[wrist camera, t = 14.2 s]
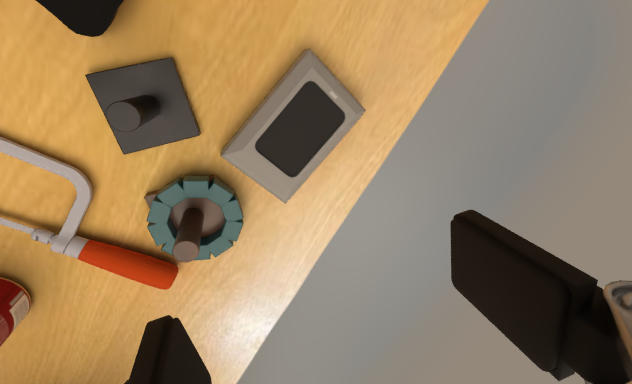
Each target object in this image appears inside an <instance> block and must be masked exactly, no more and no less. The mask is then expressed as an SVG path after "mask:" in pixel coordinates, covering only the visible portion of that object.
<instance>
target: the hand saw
mask: <svg viewBox="0 0 632 384" xmlns="http://www.w3.org/2000/svg"><path fill="white" fill-rule="evenodd" d="M0 152H2V153H5V154H7V155H10V156H12V157H15V158H17V159H20V160H22V161H25V162H27V163H30V164H32V165H35V166H37V167H40V168H42V169H45V170H47V171H50V172H52V173H55V174H57V175H60V176H62V177H64V178H66V179H68V180H70V181H71V182H72V183H73V184H74V186H75V188H76V190H77V198H76V200H75V202H74V204H73V206H72V208H71V210H70V213H69V215H68V217H67V219H66V221H65V223H64V225H63V228H62V230H61V231H60V233H59V235H55V233H54V232H51V231H47V230H44V229H41V228H38V229H34V228H31V227H28V226H25V225H22V224H19V223H16V222H13V221H10V220H7V219H3V218H0V224H1V225H4V226H7V227H10V228H14V229H17V230H20V231H23V232H26V233H29V234H31V239H33V240H35V241H38V240H39V242H42V243H45V244H49V243H51V244H52V245H51V248H50V249H51V251H54V252H57V253H60V254H65V255H67V256H70V257H74V258H77V259H79V260H81V261H84V262H86V263H89V264H91V265H94V266H96V267H99V268H102V269H104V270H107V271H110V272H112V273H115V274H118V275H121V276H123V277H126V278H129V279H132V280H135V281H137V282H140V283H143V284H146V285H150V286H153V287H156V288H159V289H169V288H170V287H171V286H172V284H173V282H174V280H175V278H176V276H177V273H178V267H177V266H176V265H174V264H172V263H169V262H166V261H163V260H160V259H156V258H153V257H150V256H147V255H144V254H141V253H137V252H134V251H130V250H127V249H123V248H120V247H116V246H113V245H109V244H105V243H101V242H97V241H93V240H90V239H86V238H83V237H80V236H76V235H75V234H76V232H77V230H78V227H79V225H80V223H81V221H82V219H83V217H84V215H85V213H86V211H87V209H88V207H89V204H90V202H91V200H92V196H93V191H92V187H91V184H90V182H89V180H88V179H87V177H86V176H85V175H84V174H83V173H82V172H81V171H79V170H78V169H76V168H75V167H73V166H71V165H68V164H66V163H63V162H61V161H58V160H56V159H54V158H51V157H49V156H46V155H44V154H42V153H39V152H37V151H34V150H32V149H29V148H27V147H25V146H22V145H20V144H17V143H15V142H13V141H10V140H8V139H5V138H3V137H0Z"/></svg>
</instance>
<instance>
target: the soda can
mask: <svg viewBox="0 0 632 384" xmlns="http://www.w3.org/2000/svg"><path fill="white" fill-rule="evenodd" d="M30 307H31V298H30V296H29V294H28V292H27V291H26V290H25V289H24V288H23V287H22V286H21V285H19V284H18V283H16V282H14V281H12V280H9V279H6V278H1V277H0V346H1V345H2V344H3V343H4V342H5V340H6V339H7V338H8V337H9V335H10V334H11V333H12V332H13V331H14V329H15V328H16V327H17V326H18V325H19V323H20V322H21V321H22V320H23V318H24V317H25V316H26V315H27V313H28V312H29V310H30Z"/></svg>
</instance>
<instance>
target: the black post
mask: <svg viewBox="0 0 632 384" xmlns="http://www.w3.org/2000/svg"><path fill="white" fill-rule="evenodd" d="M85 76H86V78H87V80H88V82H89V84H90V86H91V88H92V90H93V92H94V94H95V96H96V99H97V101H98V103H99V105H100V107H101V109H102V111H103V113H104V115H105V117H106V119H107V121H108V123H109V125H110V127H111V129H112V131H113V134H114V136H115V138H116V140H117V142H118V144H119V146H120V148H121V150H122V152H123V154H128V153H132V152H136V151H140V150H144V149H148V148H152V147H156V146H160V145H164V144H168V143H172V142H176V141H180V140H184V139H188V138H192V137H195V136H199V135H200V134H201V133H200V130H199V127H198V124H197V122H196V119H195V116H194V113H193V111H192V108H191V105H190V102H189V100H188V97H187V94H186V91H185V89H184V86H183V83H182V80H181V78H180V75H179V72H178V69H177V67H176V64H175V61H174V58H172V57H170V58H165V59H160V60H155V61H150V62H146V63H141V64H136V65H131V66H126V67H121V68H116V69H111V70H106V71H101V72H96V73H91V74H87V75H85Z"/></svg>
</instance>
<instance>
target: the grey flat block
mask: <svg viewBox="0 0 632 384" xmlns="http://www.w3.org/2000/svg"><path fill="white" fill-rule="evenodd" d="M365 111H366V110H365V109H364V107H363V106H362V105H361V104H360V103H359V102H358V101H357V100H356V99H355V98H354V97H353V96H352V94H351V93H350V92H349V91H348V90H347V89H346V88H345V87H344V86H343V85H342V84H341V82H340V81H339V80H338V79H337V78H336V77H335V76H334V75H333V74H332V73H331V72H330V70H329V69H328V68H327V67H326V66H325V65H324V64H323V63H322V62H321V61H320V60H319V58H318V57H317V56H316V55H315V54H314V53H313V52H312V51H311V50H310V49H306V50H304V51H303V53H302V54H301V55H300V56H299V57H298V59H297V60H296V61H295V62H294V64H293V65H292V66H291V67H290V68H289V70H288V71H287V72H286V73H285V74H284V76H283V77H282V78H281V79H280V80H279V82H278V83H277V84H276V85H275V86H274V88H273V89H272V90H271V91H270V92H269V94H268V95H267V96H266V97H265V98H264V100H263V101H262V102H261V103H260V105H259V106H258V107H257V108H256V109H255V111H254V112H253V113H252V114H251V115H250V117H249V118H248V119H247V120H246V121H245V123H244V124H243V125H242V126H241V127H240V129H239V130H238V131H237V132H236V133H235V135H234V136H233V137H232V138H231V139H230V141H229V142H228V143H227V144H226V146H225V147H224V148H223V149H222V150H221V157H223V158H224V159H225V160H227V161H228V162H230V163H231V164H232V165H234V166H235V167H236V168H238V169H239V170H240V171H242V172H243V173H244V174H246V175H247V176H249V177H250V178H251V179H253V180H254V181H255V182H257V183H258V184H259V185H261V186H262V187H263V188H265V189H266V190H268V191H269V192H270V193H272V194H273V195H274V196H276V197H277V198H278V199H280V200H281V201H282V202H284V203H285V204H286V203H287V202H288V200H289V199H290V198H291V197H292V196H293V195H294V193H295V192H296V191H297V190H298V189H299V188H300V187H301V185H302V184H303V183H304V182H305V181H306V180H307V179H308V177H309V176H310V175H311V174H312V173H313V172H314V170H315V169H316V168H317V167H318V166H319V165H320V164H321V162H322V161H323V160H324V159H325V158H326V157H327V156H328V154H329V153H330V152H331V151H332V150H333V149H334V148H335V146H336V145H337V144H338V143H339V142H340V141H341V139H342V138H343V137H344V136H345V135H346V134H347V133H348V131H349V130H350V129H351V128H352V127H353V126H354V125H355V123H356V122H357V121H358V120H359V119H360V118H361V116H362V115H363V113H364V112H365Z"/></svg>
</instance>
